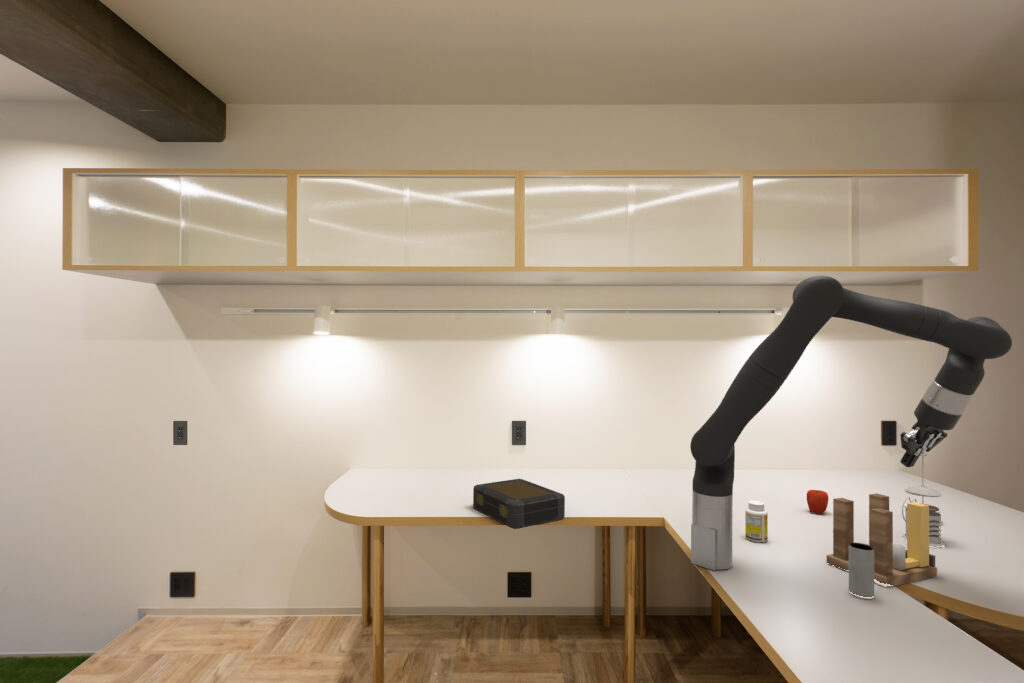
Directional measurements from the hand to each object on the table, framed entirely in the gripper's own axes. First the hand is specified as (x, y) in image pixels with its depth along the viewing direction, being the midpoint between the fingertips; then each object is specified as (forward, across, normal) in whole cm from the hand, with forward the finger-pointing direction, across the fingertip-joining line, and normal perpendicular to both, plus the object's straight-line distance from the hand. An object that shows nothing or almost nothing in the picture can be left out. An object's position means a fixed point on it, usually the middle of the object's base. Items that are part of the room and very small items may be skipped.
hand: (906, 464), depth 121 cm
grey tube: (+20, -22, -15) cm, 33 cm away
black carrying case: (+53, -73, +51) cm, 104 cm away
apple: (+44, +21, +24) cm, 55 cm away
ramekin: (+38, +47, +10) cm, 61 cm away
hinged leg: (+21, -1, -12) cm, 24 cm away
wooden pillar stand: (+24, -4, -9) cm, 26 cm away
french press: (+31, +26, -1) cm, 40 cm away
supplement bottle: (+36, -18, +13) cm, 42 cm away
